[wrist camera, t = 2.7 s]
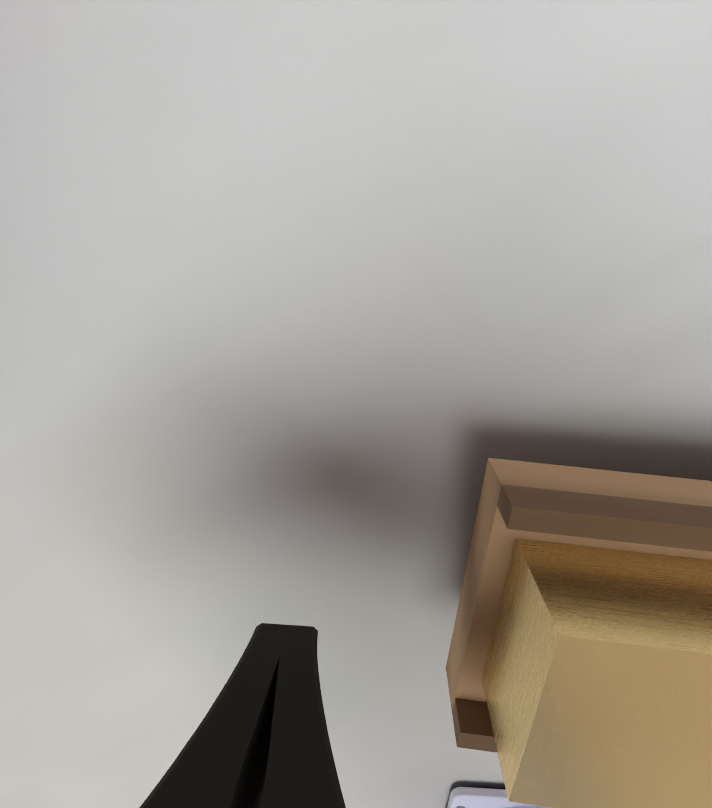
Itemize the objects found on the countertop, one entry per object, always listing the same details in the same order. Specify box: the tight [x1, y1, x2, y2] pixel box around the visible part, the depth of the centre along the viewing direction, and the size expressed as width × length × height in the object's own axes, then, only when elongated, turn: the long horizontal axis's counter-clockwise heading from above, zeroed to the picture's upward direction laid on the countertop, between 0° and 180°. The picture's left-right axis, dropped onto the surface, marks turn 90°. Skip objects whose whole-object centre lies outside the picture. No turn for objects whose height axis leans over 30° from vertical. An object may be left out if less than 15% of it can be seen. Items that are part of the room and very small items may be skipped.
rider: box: [482, 538, 712, 808], centre depth 10 cm, size 5×6×3 cm
